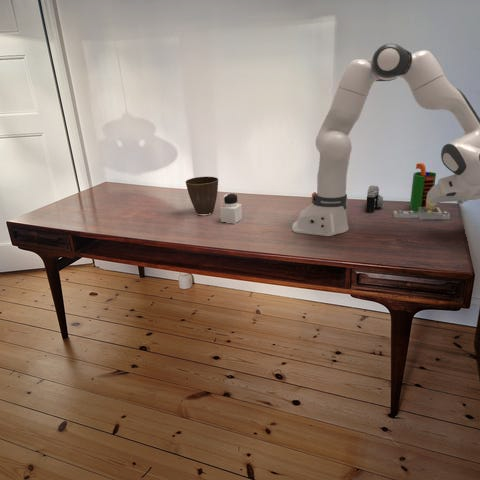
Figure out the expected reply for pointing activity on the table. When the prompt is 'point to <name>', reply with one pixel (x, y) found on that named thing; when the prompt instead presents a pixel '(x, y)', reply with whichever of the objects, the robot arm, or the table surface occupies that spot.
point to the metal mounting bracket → (423, 214)
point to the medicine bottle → (231, 209)
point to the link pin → (429, 206)
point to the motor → (421, 187)
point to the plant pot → (203, 193)
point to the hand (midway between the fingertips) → (447, 203)
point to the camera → (373, 199)
